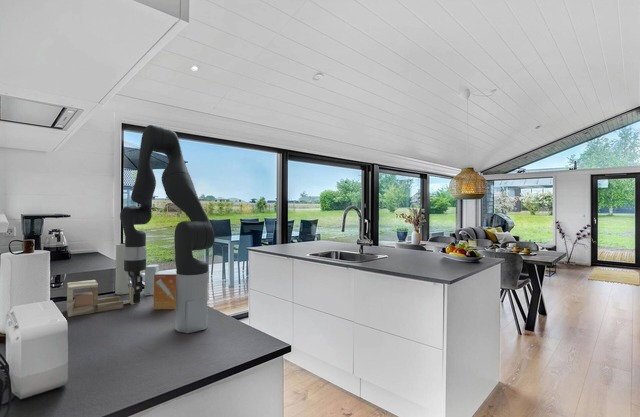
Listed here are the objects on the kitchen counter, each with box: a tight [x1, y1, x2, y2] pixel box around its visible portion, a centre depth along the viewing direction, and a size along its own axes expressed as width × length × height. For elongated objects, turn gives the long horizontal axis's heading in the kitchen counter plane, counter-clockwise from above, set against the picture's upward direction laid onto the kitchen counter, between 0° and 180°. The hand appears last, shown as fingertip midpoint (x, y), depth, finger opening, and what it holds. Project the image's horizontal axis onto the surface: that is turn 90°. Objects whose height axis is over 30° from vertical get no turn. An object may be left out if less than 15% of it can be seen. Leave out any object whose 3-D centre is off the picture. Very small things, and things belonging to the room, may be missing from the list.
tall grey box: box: [114, 242, 129, 295], centre depth 138 cm, size 7×6×21 cm
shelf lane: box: [66, 279, 124, 318], centre depth 117 cm, size 9×16×10 cm, turn 130°
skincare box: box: [143, 264, 160, 296], centre depth 139 cm, size 6×4×12 cm
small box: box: [152, 270, 176, 310], centre depth 121 cm, size 8×6×13 cm
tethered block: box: [73, 287, 141, 308], centre depth 120 cm, size 5×20×6 cm, turn 130°
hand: (134, 300), depth 125 cm, fingers open, 7 cm apart
